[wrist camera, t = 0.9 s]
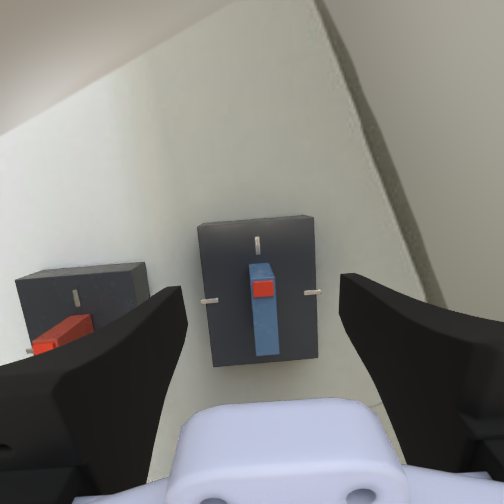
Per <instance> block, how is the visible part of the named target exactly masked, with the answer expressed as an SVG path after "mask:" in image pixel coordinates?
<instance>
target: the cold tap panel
mask: <svg viewBox="0 0 504 504" xmlns="http://www.w3.org/2000/svg"><path fill="white" fill-rule="evenodd" d="M197 230H198V239H199V248H200V256H201V265H202V274H203V282H204V291H205V299H201V304H206V308H207V317H208V325H209V334H210V343H211V351H212V360H213V367H221V366H233V365H244V364H255V363H267V362H278V361H290V360H301V359H312V358H318V331H317V299H316V294H321V289H316V267H315V235H314V217H310V216H306V215H301V216H289V217H276V218H263V219H251V220H238V221H225V222H212V223H203V224H201V225H199V226H198V227H197ZM258 263H269V264H270V267H271V269H272V272H273V274H274V277H275V289H276V306H277V322H278V338H279V354H275V355H264V356H256V349H255V336H254V324H253V312H252V299H251V287H250V275H249V264H258Z"/></svg>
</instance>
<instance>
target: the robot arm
mask: <svg viewBox="0 0 504 504" xmlns="http://www.w3.org/2000/svg"><path fill="white" fill-rule="evenodd" d="M339 315H340V318H341V321H342V323H343V326H344V328H345V331H346V333H347V335H348V337H349V338H350V340H351V342H352V344H353V346H354V347H355V349H356V351H357V353H358V355H359V356H360V358H361V360H362V362H363V363H364V365H365V367H366V369H367V370H368V372H369V374H370V376H371V378H372V380H373V382H374V384H375V386H376V388H377V390H378V393H379V395H380V397H381V400H382V402H383V404H384V407H385V409H386V411H387V414H388V416H389V419H390V421H391V424H392V426H393V429H394V431H395V434H396V436H397V439H398V441H399V444H400V447H401V449H402V452H403V455H404V457H405V460H406V463H407V465H406V464H401V463H400V461H399V459H398V457H397V455H396V452H395V450H394V448H393V446H392V444H391V442H390V440H389V438H388V436H387V434H386V432H385V430H384V428H383V426H382V424H381V422H380V420H379V418H378V416H377V414H376V413H375V412H374V411H372V410H371V409H369V408H368V407H367V406H365V405H364V404H362V403H361V402H360V401H356V400H349V399H341V398H334V397H329V398H314V399H299V400H284V401H269V402H254V403H239V404H224V405H219V406H216V407H212V408H208V409H205V410H201V411H198V412H196V413H195V414H194V415H193V416H192V417H191V418H190V419H189V420H188V421H187V422H186V423H185V424H184V425H183V426H182V427H181V431H180V435H179V439H178V443H177V447H176V451H175V456H174V460H173V464H172V468H171V472H170V476H169V477H166V478H163V479H160V480H157V481H154V482H150V483H147V484H146V482H147V477H148V472H149V467H150V462H151V457H152V452H153V447H154V442H155V438H156V433H157V429H158V425H159V420H160V416H161V412H162V408H163V404H164V400H165V396H166V393H167V390H168V387H169V384H170V381H171V379H172V376H173V373H174V370H175V368H176V365H177V362H178V359H179V357H180V354H181V351H182V348H183V345H184V342H185V337H186V332H187V327H188V321H187V316H186V310H185V305H184V300H183V295H182V290H181V286H171V287H166V288H164V289H162V290H161V291H159V292H158V293H156V294H155V295H153V296H152V297H150V298H149V299H147V300H146V301H144V302H143V303H141V304H140V305H139V306H137V307H136V308H134V309H132V310H131V311H129V312H128V313H126V314H124V315H123V316H121V317H120V318H118V319H116V320H115V321H113V322H111V323H109V324H107V325H106V326H104V327H102V328H100V329H98V330H96V331H94V332H92V333H90V334H88V335H85V336H83V337H81V338H78V339H76V340H74V341H72V342H69V343H67V344H65V345H62V346H60V347H57V348H54V349H52V350H49V351H46V352H43V353H41V354H38V355H35V356H32V357H29V358H26V359H23V360H19V361H16V362H13V363H9V364H6V365H2V366H0V504H504V322H500V321H495V320H489V319H484V318H479V317H475V316H470V315H467V314H463V313H459V312H455V311H451V310H447V309H444V308H441V307H437V306H434V305H431V304H428V303H425V302H422V301H419V300H417V299H414V298H411V297H409V296H406V295H404V294H401V293H399V292H397V291H394V290H392V289H390V288H388V287H385V286H383V285H381V284H379V283H377V282H375V281H373V280H370V279H368V278H366V277H364V276H361V275H359V274H356V273H347V274H340V296H339Z"/></svg>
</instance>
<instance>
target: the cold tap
mask: <svg viewBox="0 0 504 504" xmlns="http://www.w3.org/2000/svg"><path fill="white" fill-rule="evenodd" d="M249 275H250V287H251V299H252V312H253V324H254V336H255V349H256V356H264V355H275V354H279V338H278V322H277V306H276V289H275V277H274V274H273V272H272V269H271V267H270V264H269V263H258V264H249Z"/></svg>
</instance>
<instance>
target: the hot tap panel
mask: <svg viewBox="0 0 504 504" xmlns="http://www.w3.org/2000/svg"><path fill="white" fill-rule="evenodd" d="M15 283H16V287H17V291H18V295H19V299H20V303H21V307H22V310H23V314H24V318H25V322H26V326H27V330H28V334H29V338H30V342H31V346H33V343H32V341H33V340H35V339H36V338H38V337H39V336H41V335H42V334H44V333H45V332H47V331H48V330H50V329H51V328H53V327H54V326H56V325H57V324H59V323H60V322H62V321H63V320H65V319H66V318H68V317H69V316H72V315H84V314H91V319H92V324H93V329H94V331H96V330H98V329H100V328H102V327H104V326H106V325H107V324H109V323H111V322H113V321H115V320H116V319H118V318H120V317H121V316H123V315H124V314H126V313H128V312H129V311H131V310H132V309H134V308H136V307H137V306H139V305H140V304H141V303H143V302H144V301H146V300H147V299H149V298H150V294H149V287H148V281H147V275H146V268H145V262H137V263H125V264H113V265H100V266H88V267H76V268H63V269H51V270H42V271H39V272H36V273H33V274H30V275H28V276H25V277H22V278H19V279H16V280H15ZM26 352H27V354H28V353H34V352H33V348H30V349H26Z"/></svg>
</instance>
